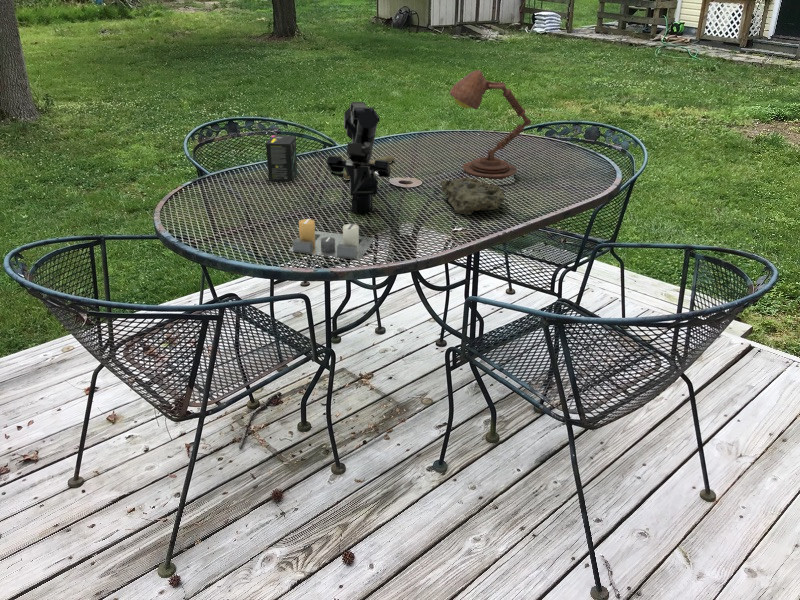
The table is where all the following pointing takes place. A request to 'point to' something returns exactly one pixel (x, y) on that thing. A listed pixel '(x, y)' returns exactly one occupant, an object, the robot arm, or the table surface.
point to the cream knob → (351, 235)
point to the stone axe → (388, 158)
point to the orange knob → (307, 230)
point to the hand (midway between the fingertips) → (353, 191)
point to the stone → (472, 195)
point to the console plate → (340, 249)
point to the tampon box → (281, 158)
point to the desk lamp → (471, 96)
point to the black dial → (327, 244)
